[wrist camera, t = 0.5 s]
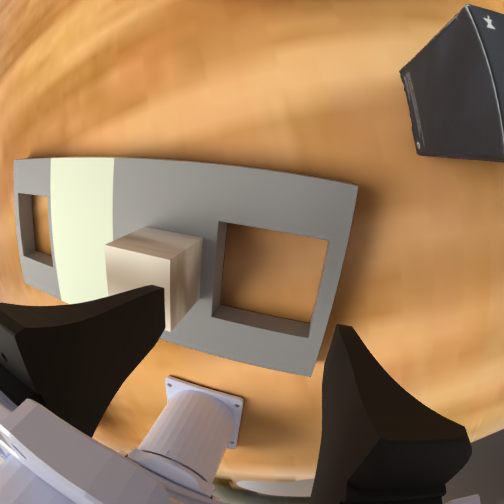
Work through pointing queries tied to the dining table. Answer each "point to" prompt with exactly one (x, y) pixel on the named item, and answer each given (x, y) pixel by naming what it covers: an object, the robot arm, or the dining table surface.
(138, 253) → the block
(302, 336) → the plate
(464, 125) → the small box
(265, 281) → the dining table surface
